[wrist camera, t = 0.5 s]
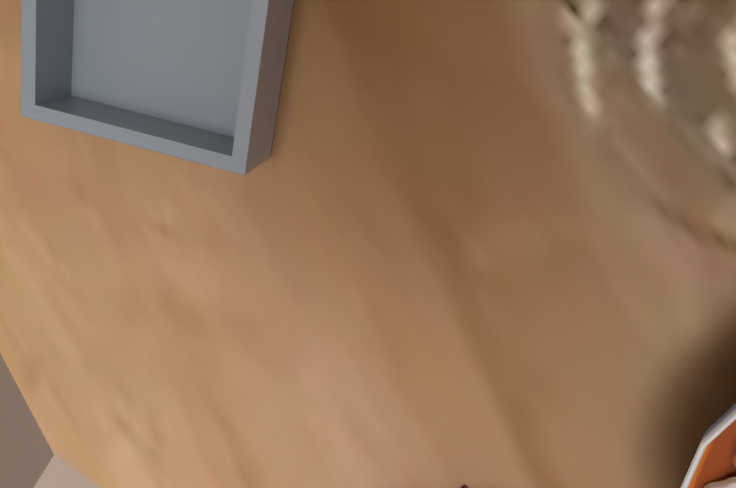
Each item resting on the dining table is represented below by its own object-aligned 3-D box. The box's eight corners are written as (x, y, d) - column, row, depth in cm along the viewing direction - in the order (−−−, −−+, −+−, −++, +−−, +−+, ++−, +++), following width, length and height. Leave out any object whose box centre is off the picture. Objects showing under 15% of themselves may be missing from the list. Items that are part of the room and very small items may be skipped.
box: (73, -138, 35) (22, -151, 32) (307, -86, 34) (281, -94, 30) (66, 103, 40) (21, 115, 37) (270, 156, 39) (244, 175, 35)
